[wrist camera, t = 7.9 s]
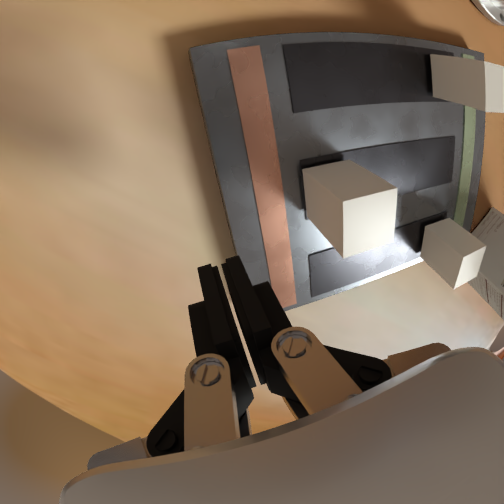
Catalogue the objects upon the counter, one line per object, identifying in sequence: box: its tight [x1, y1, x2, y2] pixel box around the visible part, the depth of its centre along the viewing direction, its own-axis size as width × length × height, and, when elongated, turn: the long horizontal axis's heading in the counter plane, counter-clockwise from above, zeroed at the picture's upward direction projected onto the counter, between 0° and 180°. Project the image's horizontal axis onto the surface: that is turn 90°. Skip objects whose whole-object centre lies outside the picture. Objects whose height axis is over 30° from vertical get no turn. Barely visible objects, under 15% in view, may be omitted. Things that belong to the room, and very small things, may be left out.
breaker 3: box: [420, 218, 486, 289], centre depth 20 cm, size 3×3×4 cm
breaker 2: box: [430, 54, 504, 113], centre depth 12 cm, size 3×3×4 cm
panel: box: [188, 32, 485, 311], centre depth 18 cm, size 18×22×2 cm
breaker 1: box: [302, 160, 398, 259], centre depth 15 cm, size 3×3×4 cm
